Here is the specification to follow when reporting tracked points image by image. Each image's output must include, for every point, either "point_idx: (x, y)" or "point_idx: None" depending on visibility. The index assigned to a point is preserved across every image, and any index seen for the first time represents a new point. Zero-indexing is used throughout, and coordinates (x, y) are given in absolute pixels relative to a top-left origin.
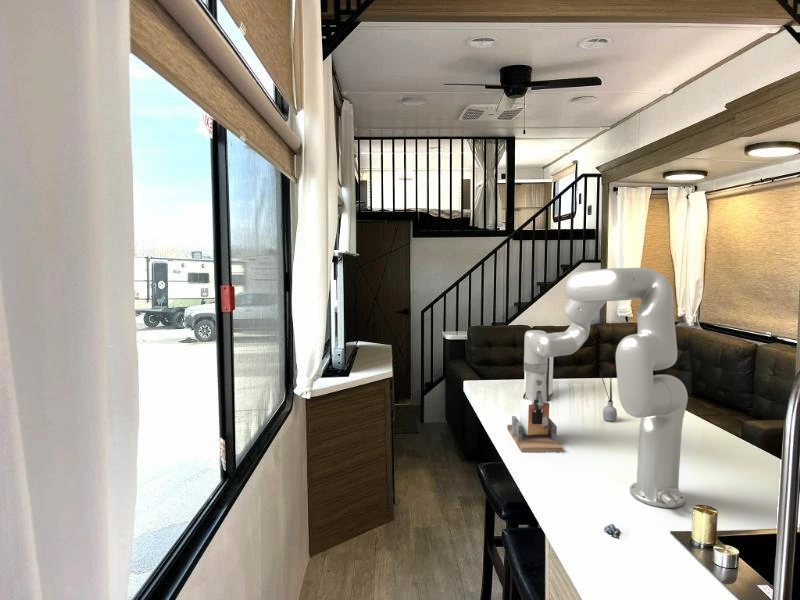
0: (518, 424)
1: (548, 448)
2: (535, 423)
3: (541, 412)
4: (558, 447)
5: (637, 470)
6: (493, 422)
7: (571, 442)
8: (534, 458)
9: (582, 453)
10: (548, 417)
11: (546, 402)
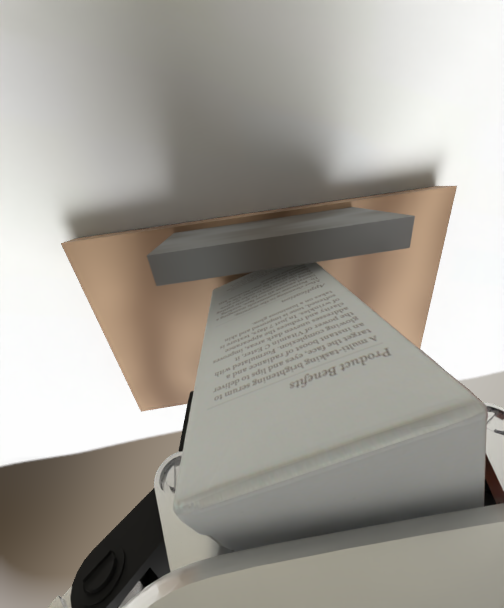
0: None
1: (436, 262)
2: None
3: (487, 410)
4: (443, 210)
5: None
6: (82, 438)
7: (285, 85)
8: (465, 315)
9: (467, 53)
10: (350, 292)
11: (445, 451)
